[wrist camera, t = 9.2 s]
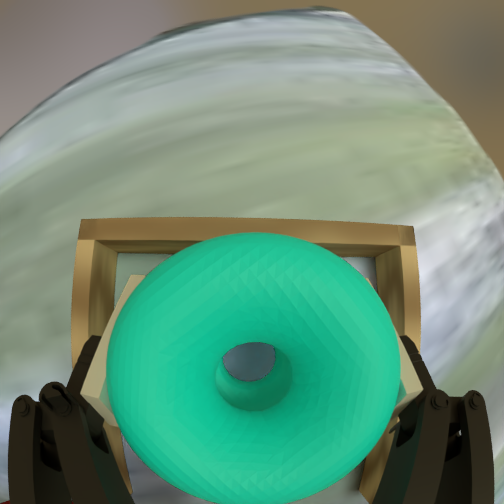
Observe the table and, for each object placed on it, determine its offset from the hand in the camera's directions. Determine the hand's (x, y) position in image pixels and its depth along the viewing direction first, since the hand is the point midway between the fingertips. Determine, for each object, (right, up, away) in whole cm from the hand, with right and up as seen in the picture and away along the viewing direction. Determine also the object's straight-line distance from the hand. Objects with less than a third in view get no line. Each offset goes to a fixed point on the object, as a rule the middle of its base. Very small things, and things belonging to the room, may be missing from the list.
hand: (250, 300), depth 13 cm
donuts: (0, -4, +3) cm, 5 cm away
